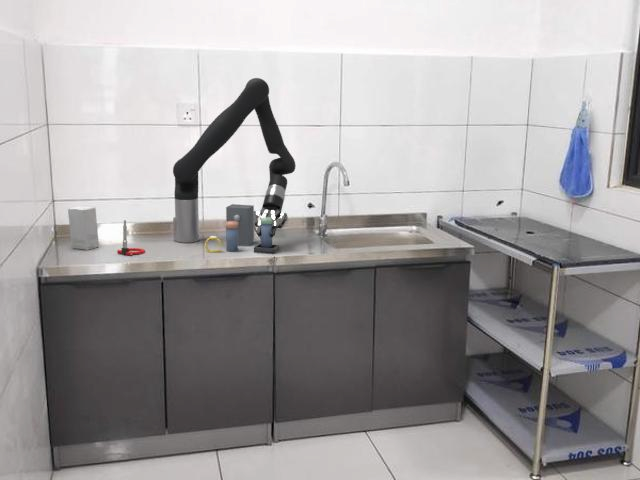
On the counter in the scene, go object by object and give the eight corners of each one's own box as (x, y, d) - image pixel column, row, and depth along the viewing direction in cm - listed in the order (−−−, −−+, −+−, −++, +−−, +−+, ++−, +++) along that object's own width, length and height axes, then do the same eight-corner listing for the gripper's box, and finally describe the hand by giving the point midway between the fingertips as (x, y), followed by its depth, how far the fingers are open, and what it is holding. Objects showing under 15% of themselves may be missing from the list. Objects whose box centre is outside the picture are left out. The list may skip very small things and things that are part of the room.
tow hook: (133, 250, 252) (115, 253, 244) (133, 216, 250) (114, 219, 242) (149, 253, 248) (131, 257, 240) (150, 219, 246) (131, 221, 238)
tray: (253, 252, 250) (253, 247, 249) (259, 248, 256) (259, 243, 256) (274, 254, 248) (274, 248, 248) (279, 249, 255) (279, 244, 254)
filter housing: (225, 244, 262) (225, 207, 258) (232, 240, 269) (232, 204, 266) (247, 246, 260) (247, 208, 256) (254, 241, 267) (253, 205, 264)
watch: (221, 251, 251) (222, 236, 250) (220, 253, 249) (221, 238, 248) (205, 250, 251) (206, 235, 250) (204, 252, 248) (205, 236, 247)
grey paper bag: (99, 247, 254) (97, 207, 250) (86, 250, 248) (84, 209, 244) (82, 244, 257) (80, 205, 254) (69, 248, 251) (67, 207, 248)
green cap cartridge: (258, 247, 250) (258, 218, 248) (262, 244, 255) (262, 216, 252) (270, 248, 249) (270, 219, 247) (274, 245, 254) (274, 217, 251)
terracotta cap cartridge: (223, 251, 251) (223, 223, 248) (228, 248, 255) (228, 220, 253) (235, 252, 250) (235, 223, 247) (240, 249, 254) (239, 221, 252)
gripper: (254, 192, 256) (244, 229, 247) (290, 194, 253) (281, 231, 244) (258, 203, 262) (249, 239, 254) (293, 205, 260) (285, 242, 251)
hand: (265, 235), depth 249 cm, fingers closed on green cap cartridge, 4 cm apart
